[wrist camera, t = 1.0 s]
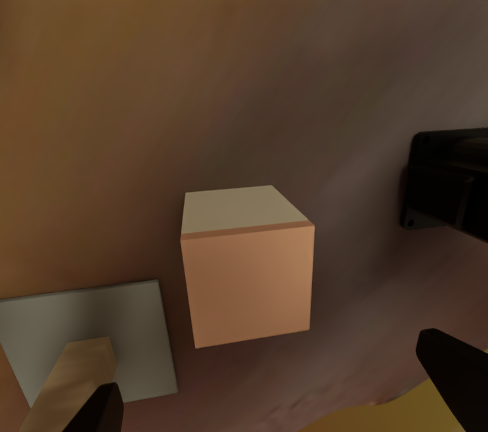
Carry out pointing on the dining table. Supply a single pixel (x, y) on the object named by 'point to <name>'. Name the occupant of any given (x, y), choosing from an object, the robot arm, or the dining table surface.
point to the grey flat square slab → (86, 348)
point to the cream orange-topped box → (246, 264)
